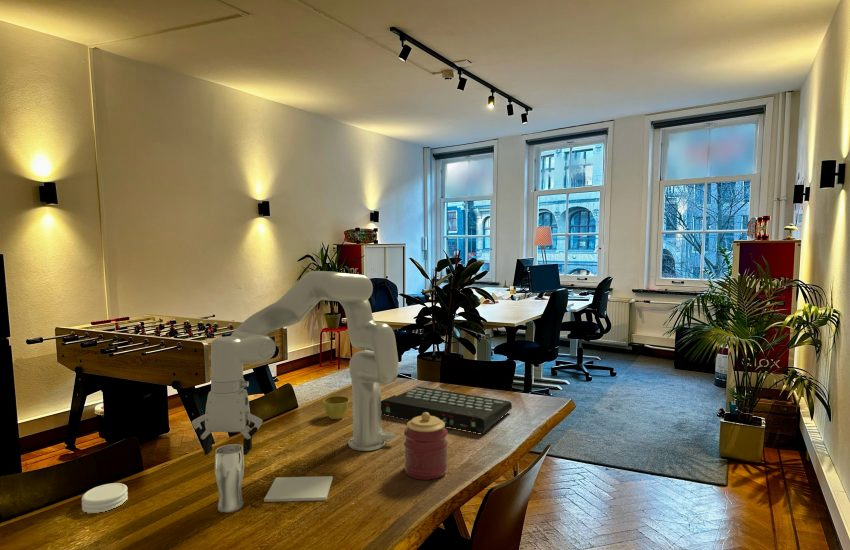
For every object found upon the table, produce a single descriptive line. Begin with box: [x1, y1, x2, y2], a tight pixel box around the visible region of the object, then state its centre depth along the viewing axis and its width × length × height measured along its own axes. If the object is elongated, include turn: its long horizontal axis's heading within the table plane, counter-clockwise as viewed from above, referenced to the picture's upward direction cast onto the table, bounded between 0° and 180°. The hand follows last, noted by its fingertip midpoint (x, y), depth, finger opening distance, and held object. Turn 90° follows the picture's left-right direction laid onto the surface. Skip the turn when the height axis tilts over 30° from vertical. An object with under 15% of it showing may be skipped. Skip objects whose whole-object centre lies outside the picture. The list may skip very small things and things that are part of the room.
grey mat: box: [263, 475, 333, 503], centre depth 134 cm, size 16×12×1 cm
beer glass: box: [214, 443, 245, 514], centre depth 125 cm, size 7×7×15 cm
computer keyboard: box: [381, 386, 513, 435], centre depth 196 cm, size 45×28×7 cm, turn 60°
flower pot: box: [322, 395, 350, 420], centre depth 192 cm, size 10×10×7 cm
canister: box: [403, 412, 449, 481], centre depth 145 cm, size 13×13×18 cm
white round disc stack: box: [81, 482, 129, 514], centre depth 127 cm, size 10×10×4 cm
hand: (227, 452), depth 124 cm, fingers open, 9 cm apart
